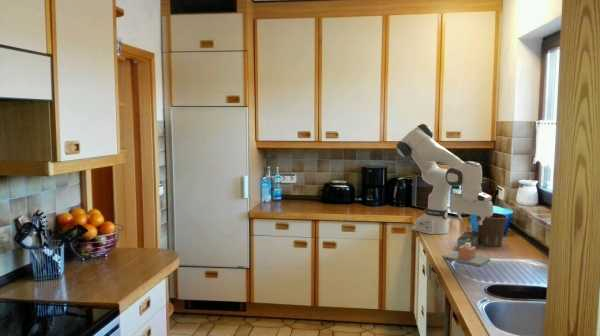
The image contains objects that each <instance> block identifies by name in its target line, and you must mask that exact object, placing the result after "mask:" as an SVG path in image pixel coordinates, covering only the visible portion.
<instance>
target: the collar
mask: <svg viewBox="0 0 600 336" xmlns="http://www.w3.org/2000/svg"><path fill="white" fill-rule="evenodd" d="M476 251H477V246H476V247H472V246H470V249H467V248H465V245H463V246H461V247H459V250H458V252H459V255H458V257H460V258H464V259H469V260H471V259H473V258H475V257H476V253H477V252H476Z"/></svg>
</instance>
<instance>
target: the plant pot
mask: <svg viewBox="0 0 600 336" xmlns="http://www.w3.org/2000/svg"><path fill="white" fill-rule="evenodd" d="M475 216H476V222H477V223H478V221H480V220H481V218H480V216H478V215H475ZM508 217H509V216H508V215H506V214H504V213H498V212H493V215H492V216H490V217H485V218H484V220H483V221H482V225H478V224H477V233H479V243H478V244H480V245H483V246H487V245H488V246H489V247H501V245H503V239H504V232H505V226H506V224H507V220H508Z"/></svg>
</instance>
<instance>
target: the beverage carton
mask: <svg viewBox="0 0 600 336" xmlns="http://www.w3.org/2000/svg"><path fill="white" fill-rule="evenodd" d="M456 241H457V243H456V247H457V248H456V249H457V250H458V251H459V247H461V246H463V245H465V243H471V246H472V247H476V248H477V246H478V245H479V244H480V243H479V233H478V232H474V231H466V230H465V231H464V232H463V233H462V234H461V235H460V236H459V237H458V238H457V240H456Z"/></svg>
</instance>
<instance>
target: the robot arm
mask: <svg viewBox="0 0 600 336" xmlns="http://www.w3.org/2000/svg"><path fill="white" fill-rule="evenodd" d="M433 135H434V133H433V130H432V128H431V127H429V126H428V125H427V124H425V123H421V124H419V125H417V126H416V127H415V128H413V129H412V130H410V131H409V132H408V133H407V134H406V135H405V136H404V137H403V138H402V139H401V140H399V141H398V142H397V144H396V151H397V153H398V154H399V156H402V157H403V158H404V159H405V158H407V159H408V158H410V157H411V158H412V159H413V161H414V162H415V163H416V165H417V166H418V168H419V170H420V172H421V178H422V180H423V181H424V182H425V183H426V184H428V185H432V186H433V188H432V191H431V192H430V193H429V194H428V198H427V199H428V200H427V201H428V202H427V207H425V208H424V209H423V212H424V213H423V214H422V215H421V216H418V217H417V218H416V220H415V222H414V225H412V226H411V228H410V230H412V231H417V232H419V233H424V234H427V235H442V234H443V235H444V234H448V233H450V232H449V227H448V197H449V193H450V191H451V189H452V187H461V188H462V189H461V193H452V194H451V195H450V204H449V210H450V212H451V213H452V212H453V213H456V216H457V217H458V222H460V223H463V222H464V218H463V217H462V214H466V215H473V216H476V215H478V216H480V218H481V220H480V221H478V222H477V226H478V225H482V221H483V220H484V218H485V217H490V216H492V215H493V213H494V206H493V205H494V204H493V202H492V200H493V199H492V195H490V194H488V193H486V192H483V191H482V182H483V169H482V165H481V164H480V163H479V162H478V161H473V160H472V161H470V160H468V161H464V160H462V159H461V158H460V157H459V156H457V155H456V154H454V153H453V152H451V151H450V150H448V149H447V148H445V147H444V146H442V145H440V143H438V142H437V141H435V140H434V139H433ZM437 163H441V164H446V165H447V166H448V167H450V168H448V169H446V168H441V167H439V166H438V165H437Z"/></svg>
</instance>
